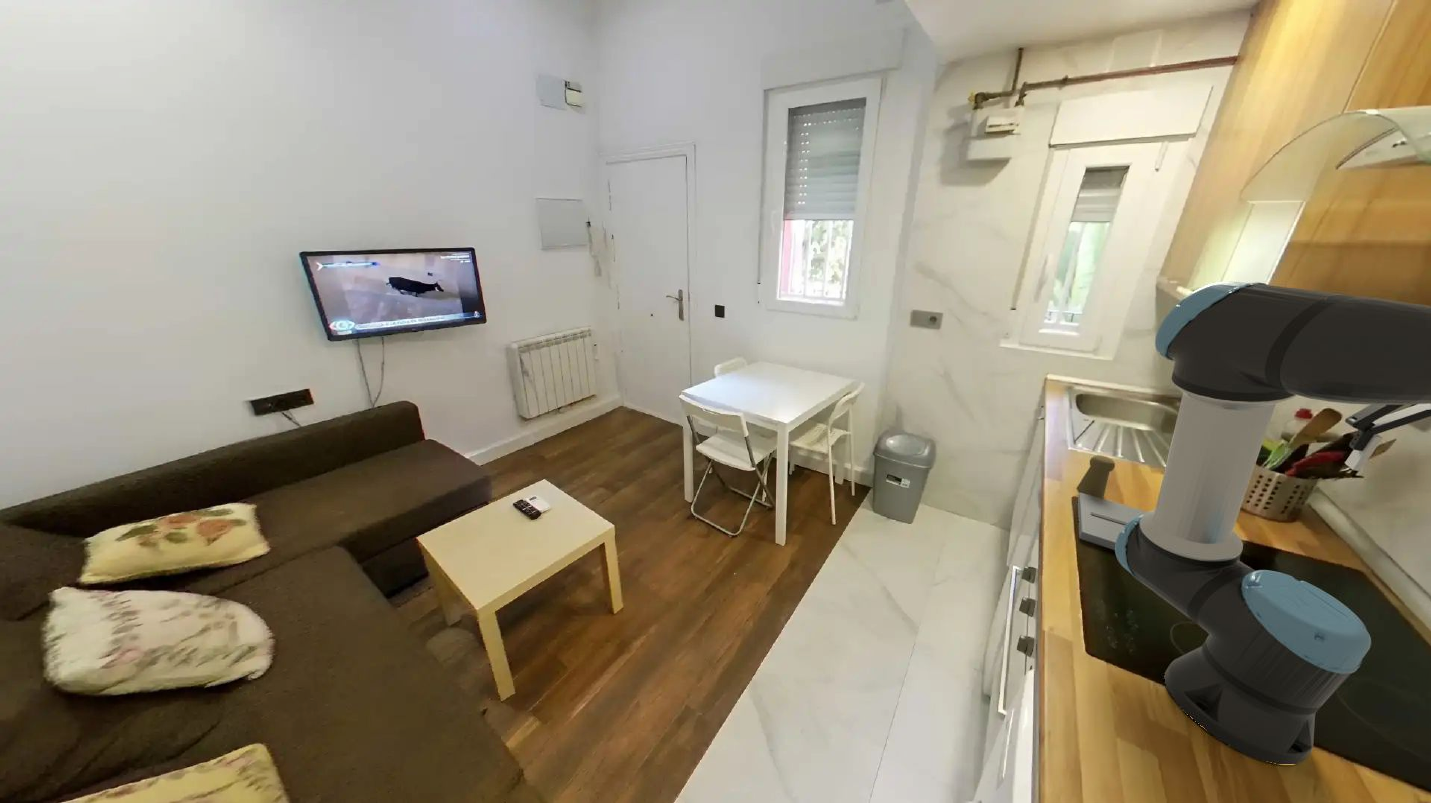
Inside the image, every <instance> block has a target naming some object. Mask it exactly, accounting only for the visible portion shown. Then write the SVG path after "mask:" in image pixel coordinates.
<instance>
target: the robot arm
mask: <svg viewBox="0 0 1431 803" xmlns="http://www.w3.org/2000/svg"><path fill="white" fill-rule="evenodd" d="M1158 327H1159V328H1158V329H1157V332H1156V335H1155V341H1154V343H1155V345H1154V346H1155V349H1156V351H1157V352H1158V353H1159V355H1161V356H1162V357H1164V358H1165V359H1166V360H1168V361H1174V365H1173V370H1172V374H1171V378H1170V379H1171V383H1172V384H1173V386H1174V387H1175V388H1176V389H1178V390H1179V391H1180V392H1182V396H1181V400H1180V405H1179V410H1178V413H1177V417H1176V422H1175V426H1174V429H1173V435H1172V438H1171V443H1170V447H1169V450H1168V456H1167V460H1166V463H1165V467H1164V468H1165V469H1164V473H1163V477H1162V480H1161V485H1160V489H1159V493H1158V498H1157V502H1156V506H1155V509H1154V510H1153V509H1152V510H1149V511H1147V513H1146V514H1144V515H1141V516H1138V517H1136V518H1134V519H1133V520H1131V521H1130V522H1128V523H1127V524H1126V525H1125V526H1124V527H1125V530H1124V531H1121V532H1120V533H1119V535H1118V537H1117V540H1116V544H1115V550H1114V552H1115V556H1116V559H1117V561H1118V562H1119V564H1120V565H1121V566H1122V567H1123V568H1124V569H1125V570H1126V571H1128V573H1130V574H1131V576H1133V578H1135V579H1136V581H1138V582H1139V583H1141V584H1143V585H1144V586H1146V587H1147V588H1148V589H1149V590H1152V591H1153V592H1154V593H1155V594H1156V595H1158V596H1159V597H1160V598H1161V599H1163V600H1165V602H1167V603H1169V605H1170V606H1172V607H1174V608H1176V609H1177V610H1178V611H1179V612H1180V613H1182V614H1183V615H1184V616H1185V617H1187V618H1188V619H1190V620H1191V621H1192V622H1194V623H1195V624H1197V625H1198V626H1199V627H1201V628H1202V630H1204V631H1206V632H1207V634H1208V636H1207V637H1206V638H1205V641H1204V642H1203V644H1202V645H1201V646H1199V647H1197V648H1195V649H1194V650H1191V651H1189V652H1187V653H1185V654H1183V655H1182V656H1179V657H1177V658H1175V659H1174V660H1172V661H1171V663H1170V664H1169V666H1168V667H1167V669H1166V671H1165V672H1164V674H1165V675H1163V680H1164V679H1165V682H1164V685H1165V684H1166V685H1165V687H1166V688H1165V689H1167V688H1168V690H1167V692H1168V691H1169V692H1170V694H1171V695H1170V694H1169V695H1170V697H1171V696H1172V697H1173V698H1174V700H1175V701H1176V702H1177V704H1178V705H1179V706H1180V707H1181V708H1180V707H1179V706H1178V705H1177V704H1176V705H1177V706H1178V707H1179V708H1180V709H1181V710H1182V709H1183V710H1184V711H1185V712H1186V713H1187V714H1188V715H1189V716H1191V717H1192V718H1193V719H1194V720H1195V721H1196V722H1197V723H1199V724H1200V725H1201V726H1203V727H1204V728H1205V729H1206V730H1207V731H1208V732H1209V733H1210V734H1209V735H1211V734H1212V735H1213V737H1214V738H1216V739H1217V738H1218V739H1217V740H1218V741H1220V742H1221V741H1222V742H1221V743H1223V742H1224V743H1223V744H1225V743H1226V744H1228V745H1230V746H1232V747H1233V748H1235V749H1236V751H1237V750H1238V752H1239V751H1240V752H1239V753H1241V754H1244V755H1246V756H1248V757H1250V758H1252V757H1253V759H1255V758H1257V759H1256V760H1258V759H1259V760H1258V761H1260V760H1261V761H1260V762H1263V761H1268V762H1272V763H1276V764H1297V765H1299V764H1301V763H1302V762H1303V761H1304V760H1306V759H1307V757H1308V755H1310V754H1311V752H1312V750H1313V748H1314V741H1315V740H1314V737H1315V736H1314V735H1315V724H1316V723H1315V721H1316V720H1315V718H1316V713H1317V712H1318V711H1319V709H1320V708H1321V707H1322V706H1323V705H1324V704H1325V703H1326V702H1327V701H1328V699H1329V698H1330V697H1332V696H1333V694H1334V693H1335V692H1336V690H1338V688H1339V687H1340V686H1341V685H1342V684H1343V683H1344V682H1345V681H1346V680H1347V679H1348V677H1350V675H1351V674H1353V673H1355V672H1356V671H1357V670H1358V669H1359V668H1360V667H1361V664H1362V662H1363V659H1364V657H1365V656H1366V654H1367V653H1368V651H1369V650H1370V648H1371V646H1372V639H1371V637H1372V636H1370V633H1369V632H1368V630H1367V627H1366V625H1365V624H1364V623H1363V621H1362V620H1361V619H1360V618H1359V617H1358V615H1356V613H1354V612H1353V610H1351V609H1350V608H1349V607H1348V606H1346V605H1345V604H1344V603H1342V602H1341V601H1340V600H1338V599H1337V598H1335V597H1333V596H1332V595H1331V594H1329V593H1327V592H1326V591H1324V590H1322V589H1321V588H1319V587H1317V586H1315V585H1314V584H1311V583H1309V582H1307V581H1304V580H1300V581H1299V580H1298V579H1296V578H1295V577H1293V576H1292V575H1289V574H1286V573H1283V572H1279V571H1276V570H1275V571H1273V570H1267V569H1259V570H1255V569H1253V568H1252V567H1250V566H1248V565H1247V564H1245V563H1243V562H1242V561H1240V558H1241V555H1242V552H1243V547H1244V544H1243V541H1242V538H1241V536H1239V535H1238V533H1237V532H1236V531H1234V528H1235V525H1236V522H1237V519H1238V516H1239V514H1240V510H1241V508H1242V505H1243V501H1244V499H1245V495H1246V493H1247V490H1248V487H1249V484H1250V482H1251V478H1252V475H1253V473H1254V469H1255V466H1256V464H1257V463H1256V462H1257V460H1258V458H1259V454H1260V452H1261V448H1262V446H1263V442H1264V439H1265V437H1266V434H1267V431H1268V427H1269V425H1270V422H1271V419H1272V416H1273V414H1274V410H1275V407H1276V405H1277V404H1279V403H1282V402H1286V401H1287V400H1288V401H1289V400H1291V399H1293V398H1295V397H1297V396H1300V397H1304V398H1305V399H1311V400H1318V401H1324V402H1328V403H1329V402H1330V403H1339V404H1349V405H1351V404H1352V405H1353V404H1354V405H1367V406H1366V407H1364V408H1362V409H1361V410H1358V411H1357V412H1355V413H1354V414H1352V415H1350V416H1348V417H1346V418H1345V419H1344V422H1345V423H1346V424H1348V426H1351V427H1352V428H1353V429H1357V432H1356V433H1355V435H1354V436H1353V437H1352V439H1351V440H1350V442H1349V443H1348V445H1349V447H1350V448H1351V450H1352V451H1351V453H1350V455H1349V456H1348V458H1347V459H1346V461H1344V464H1345V465H1346V466H1347V467H1349V469H1351V470H1353V471H1357V472H1360V471H1361V470H1362V469H1363V467H1364V466H1365V464H1366V463H1367V461H1368V460H1369V459H1370V457H1371V456H1372V455H1373V453H1374V451H1375V450H1376V449H1377V447H1378V445H1380V443H1381V442H1382V440H1383V439H1384V437H1382V435H1379V434H1382V433H1385V432H1388V431H1391V430H1393V429H1396V428H1399V427H1403V426H1405V425H1408V424H1411V423H1414V422H1417V421H1420V420H1423V419H1427V418H1429V417H1431V305H1425V304H1417V303H1409V302H1402V301H1396V300H1389V299H1384V298H1383V299H1382V298H1376V297H1369V296H1356V295H1348V294H1342V293H1335V292H1334V293H1333V292H1324V291H1318V290H1308V289H1304V288H1303V289H1302V288H1301V289H1300V288H1296V287H1295V288H1294V287H1285V286H1277V285H1271V284H1267V283H1265V282H1259V281H1258V282H1257V281H1256V282H1240V281H1239V282H1238V281H1219V282H1215V283H1210V284H1208V285H1204V286H1203V287H1200V288H1198V289H1196V290H1195V291H1193V292H1191V293H1189V294H1188V295H1186V296H1185V297H1184V298H1182V299H1181V301H1179V302H1178V304H1176V305H1175V306H1174V307H1173V308H1172V309H1171V310H1170V311H1169V312H1168V313H1167V314H1166V315H1165V317H1164V318H1163V320H1162V322H1161V323H1160V325H1159V326H1158ZM1404 405H1412V406H1410V407H1407V408H1404V409H1403V408H1402V409H1401V410H1397V409H1399V408H1401V407H1404ZM1396 410H1397V411H1396ZM1394 411H1395V412H1394ZM1169 692H1168V693H1169ZM1172 697H1171V698H1172ZM1173 698H1172V699H1173ZM1174 700H1173V701H1174ZM1175 701H1174V702H1175ZM1176 702H1175V703H1176ZM1183 710H1182V711H1183ZM1184 711H1183V712H1184ZM1185 712H1184V713H1185ZM1186 713H1185V714H1186ZM1187 714H1186V715H1187ZM1188 715H1187V716H1188ZM1189 716H1188V717H1189ZM1207 731H1206V732H1207ZM1208 732H1207V733H1208ZM1212 735H1211V736H1212ZM1226 744H1225V745H1226ZM1228 745H1227V746H1228ZM1230 746H1229V747H1230ZM1232 747H1231V748H1232ZM1233 748H1232V749H1233ZM1235 749H1234V750H1235ZM1262 760H1263V761H1262ZM1301 761H1302V762H1301ZM1300 762H1301V763H1300ZM1298 763H1299V764H1298Z"/></svg>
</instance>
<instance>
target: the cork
mask: <svg viewBox="0 0 1431 803" xmlns="http://www.w3.org/2000/svg"><path fill="white" fill-rule="evenodd" d="M1115 467H1116V463H1115V461H1114V459H1111V457H1110V458H1109V457H1107V456H1104V455H1094V456H1092V457H1091V458H1090V460H1089V468H1088V469H1087V471H1086V472H1085V473H1084V475H1083V477H1082V479H1081V481H1079V483H1078V485H1077V487H1076V490H1077V492H1079V493H1084V494H1087V495H1091V496H1094V497H1098V498H1101V499H1104V496H1105V493H1106V489H1107V483H1108V480H1109V475H1110V473H1111V472H1112V471H1113V470H1114V469H1115Z"/></svg>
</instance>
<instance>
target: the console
mask: <svg viewBox="0 0 1431 803" xmlns="http://www.w3.org/2000/svg"><path fill="white" fill-rule="evenodd" d="M1077 498H1078V503H1077V520H1078V521H1079V523H1078V537H1079V539H1080V540H1083V541H1085V542H1089V543H1092V544H1095V545H1098V546H1101V547H1104V548H1107V549H1110V550H1113V551H1115V544H1116V540H1117V537H1118V535H1119V533H1120V532H1121V531H1124V530H1125V527H1124V526H1125V525H1126V524H1127V523H1128V522H1130V521H1131V520H1133V519H1134V518H1136V517H1138V516H1141V515H1144V514H1146V513H1147V512H1148V511H1146V510H1143V509H1139V508H1136V507H1132V506H1129V505H1125V504H1122V503H1119V502H1115V501H1111V500H1108V499H1105V498H1098V497H1094V496H1091V495H1087V494H1084V493H1080V492H1079V494H1078V496H1077ZM1078 518H1079V519H1078Z"/></svg>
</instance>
